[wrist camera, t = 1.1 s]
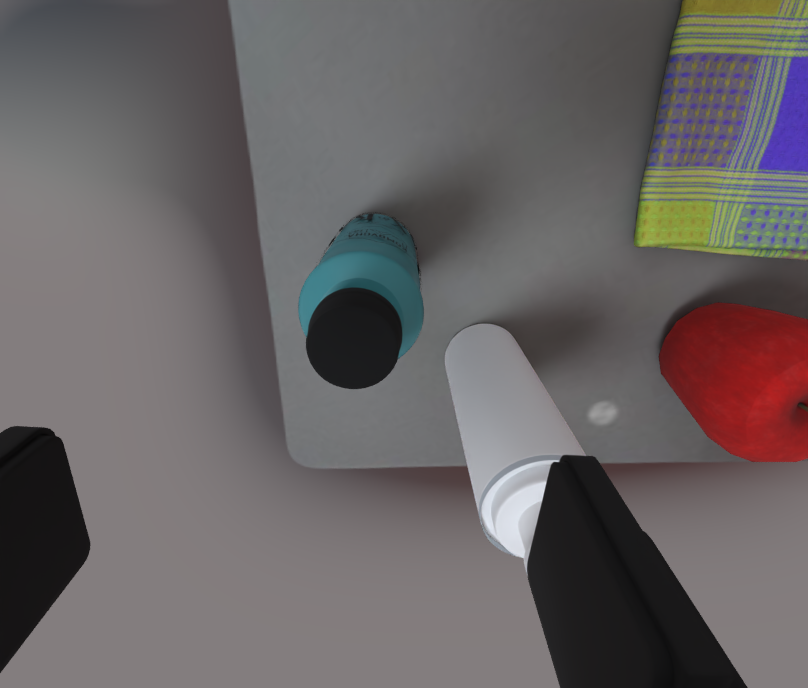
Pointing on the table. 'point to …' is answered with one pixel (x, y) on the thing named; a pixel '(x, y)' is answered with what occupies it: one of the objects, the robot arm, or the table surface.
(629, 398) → the table surface
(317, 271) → the beverage bottle
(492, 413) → the spray bottle
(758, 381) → the apple
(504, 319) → the table surface
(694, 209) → the dish towel
